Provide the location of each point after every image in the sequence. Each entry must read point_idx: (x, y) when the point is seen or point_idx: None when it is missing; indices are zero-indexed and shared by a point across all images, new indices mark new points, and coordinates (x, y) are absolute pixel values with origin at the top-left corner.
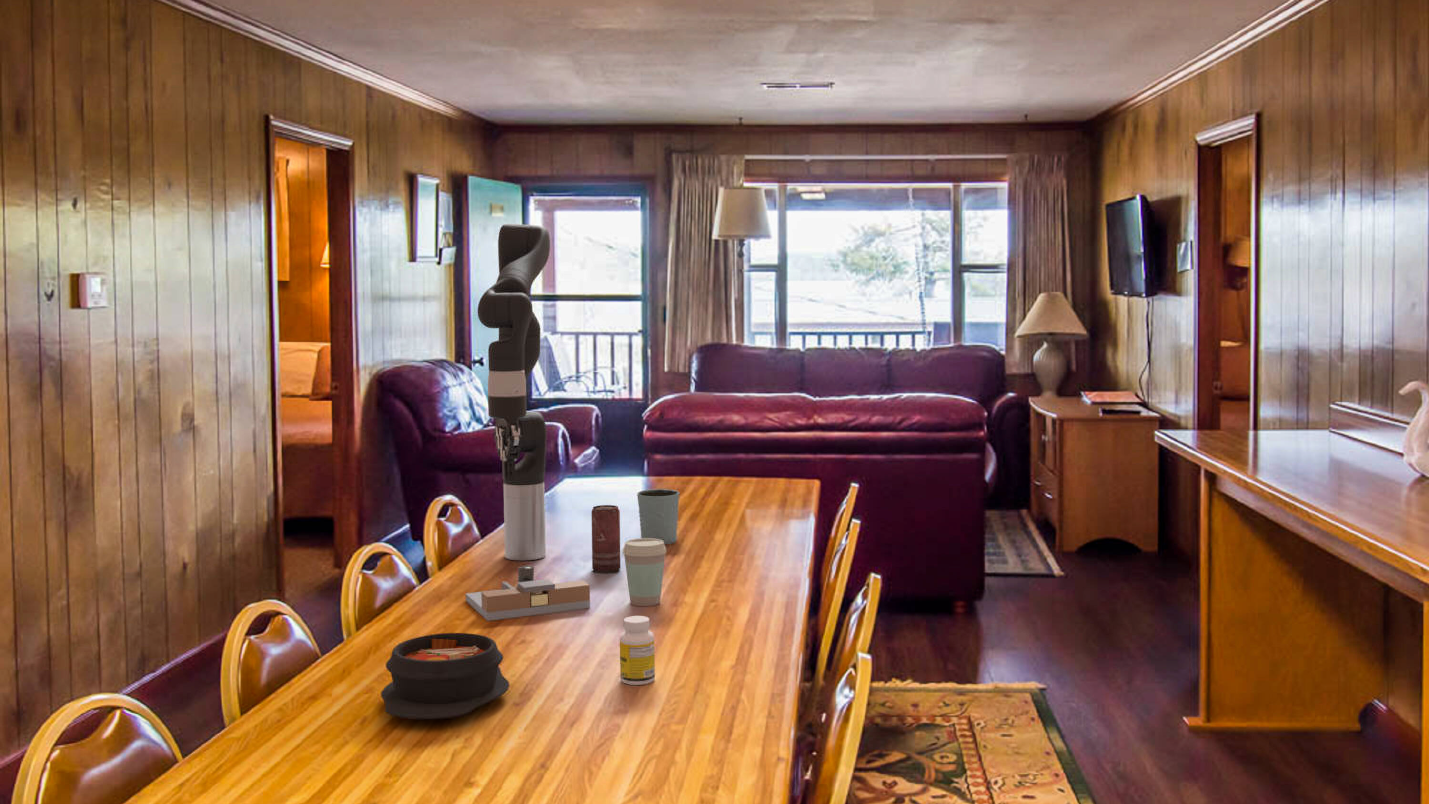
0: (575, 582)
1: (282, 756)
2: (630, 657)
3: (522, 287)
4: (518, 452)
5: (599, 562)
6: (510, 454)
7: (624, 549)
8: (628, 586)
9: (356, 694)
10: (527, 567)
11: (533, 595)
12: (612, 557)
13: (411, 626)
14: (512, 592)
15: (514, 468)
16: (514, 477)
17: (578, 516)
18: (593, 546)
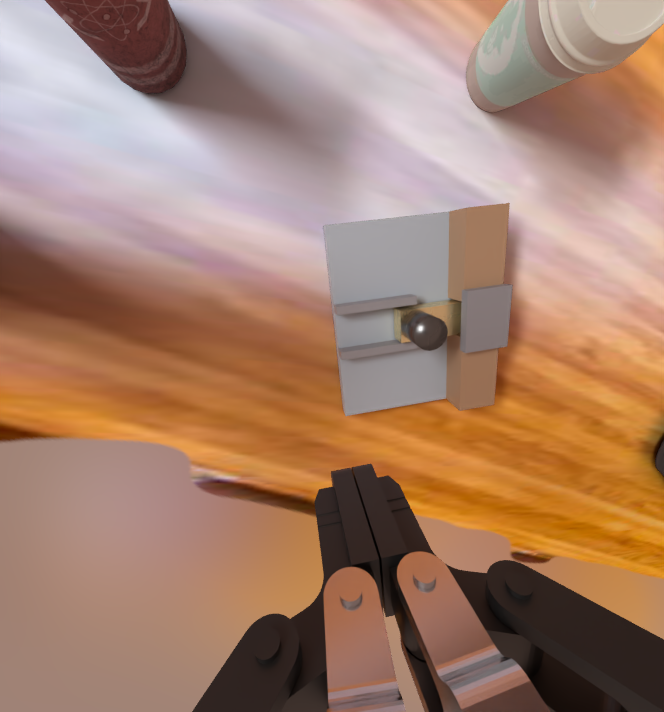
0: (475, 228)
1: None
2: None
3: None
4: (615, 624)
5: (171, 67)
6: (545, 653)
7: (599, 62)
8: (513, 100)
9: (640, 513)
10: (433, 331)
11: None
12: (171, 10)
13: (448, 478)
14: (488, 362)
15: (387, 509)
16: (372, 469)
17: None
18: (131, 55)
